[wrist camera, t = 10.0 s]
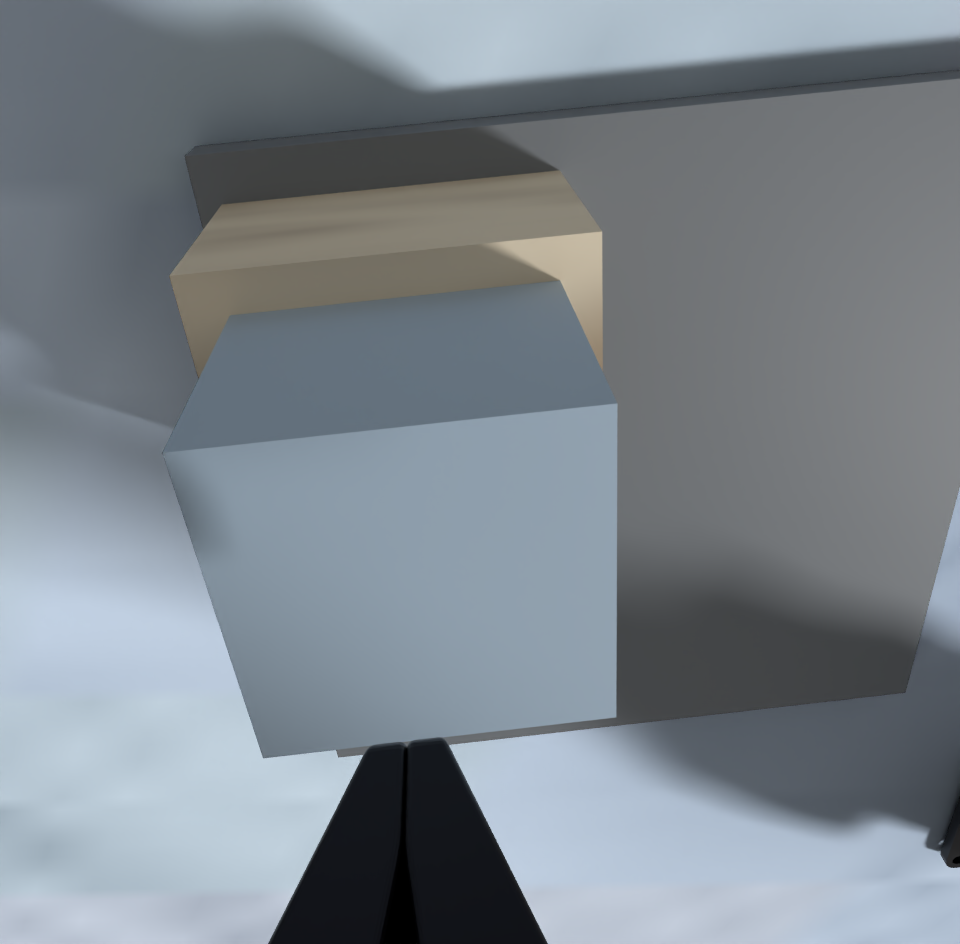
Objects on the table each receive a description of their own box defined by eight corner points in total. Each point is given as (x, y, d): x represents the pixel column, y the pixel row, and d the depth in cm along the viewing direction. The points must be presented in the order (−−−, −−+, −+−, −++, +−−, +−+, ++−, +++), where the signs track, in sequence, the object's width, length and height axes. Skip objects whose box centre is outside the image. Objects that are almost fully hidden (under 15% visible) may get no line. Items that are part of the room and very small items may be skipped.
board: (889, 669, 27) (905, 692, 27) (340, 732, 27) (338, 757, 26) (1038, 62, 18) (1070, 67, 17) (195, 146, 18) (184, 156, 17)
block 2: (569, 544, 17) (615, 717, 13) (295, 575, 17) (263, 758, 13) (559, 280, 14) (617, 403, 10) (229, 315, 14) (162, 452, 10)
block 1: (568, 458, 21) (603, 570, 17) (290, 488, 21) (264, 607, 17) (559, 170, 17) (601, 231, 14) (221, 204, 17) (169, 275, 13)
